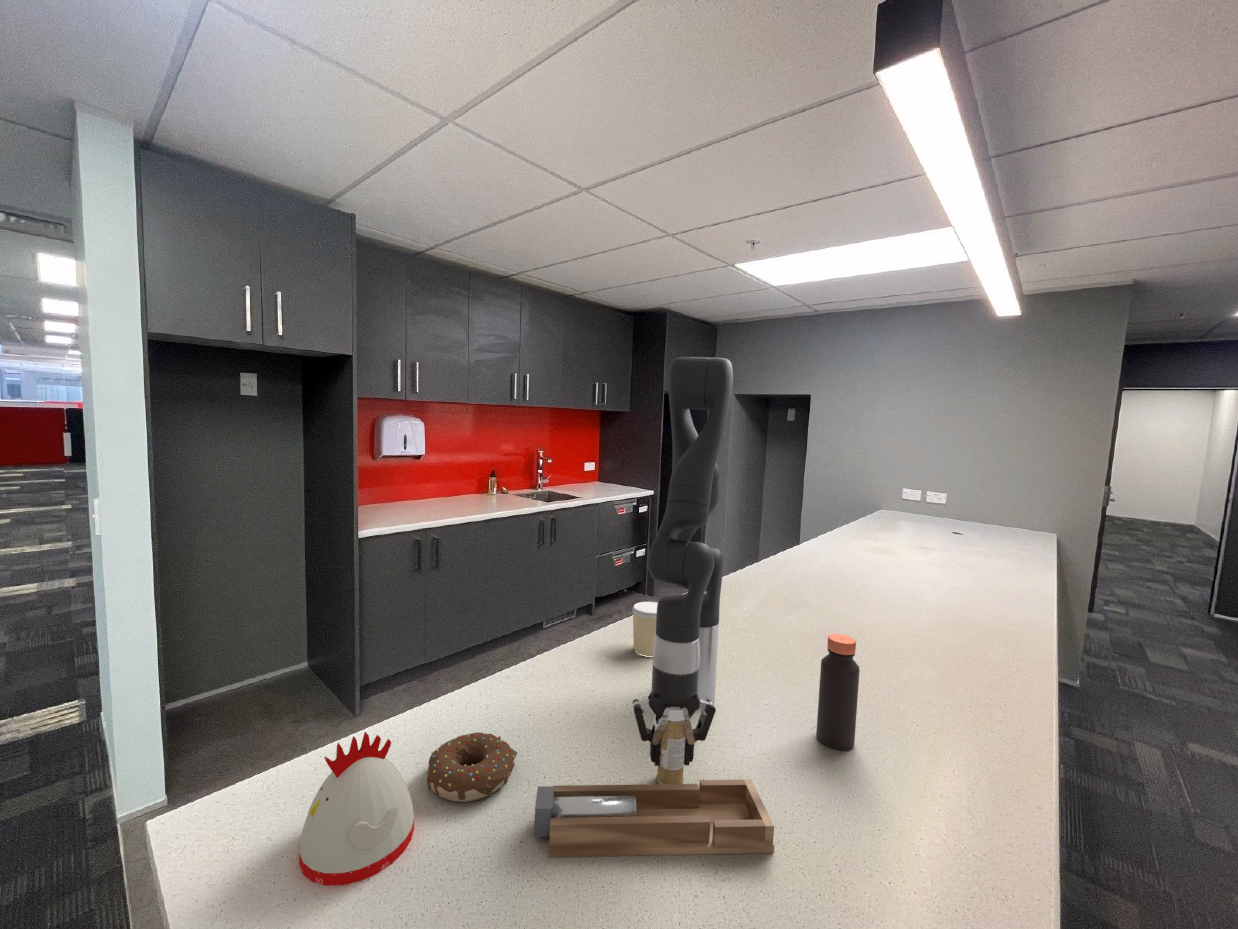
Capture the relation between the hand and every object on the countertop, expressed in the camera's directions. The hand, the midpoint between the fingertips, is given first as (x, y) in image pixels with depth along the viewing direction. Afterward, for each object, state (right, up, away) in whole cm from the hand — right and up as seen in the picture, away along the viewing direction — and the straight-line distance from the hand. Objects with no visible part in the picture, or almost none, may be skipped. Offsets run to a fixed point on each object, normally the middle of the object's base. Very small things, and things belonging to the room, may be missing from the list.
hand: (670, 762), depth 83 cm
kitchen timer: (-44, -3, -14) cm, 46 cm away
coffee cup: (-1, -1, +50) cm, 50 cm away
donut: (-32, -2, -1) cm, 33 cm away
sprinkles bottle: (0, -3, 0) cm, 3 cm away
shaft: (-13, -2, -11) cm, 17 cm away
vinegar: (+33, -4, +14) cm, 36 cm away
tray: (-3, -4, -10) cm, 11 cm away
